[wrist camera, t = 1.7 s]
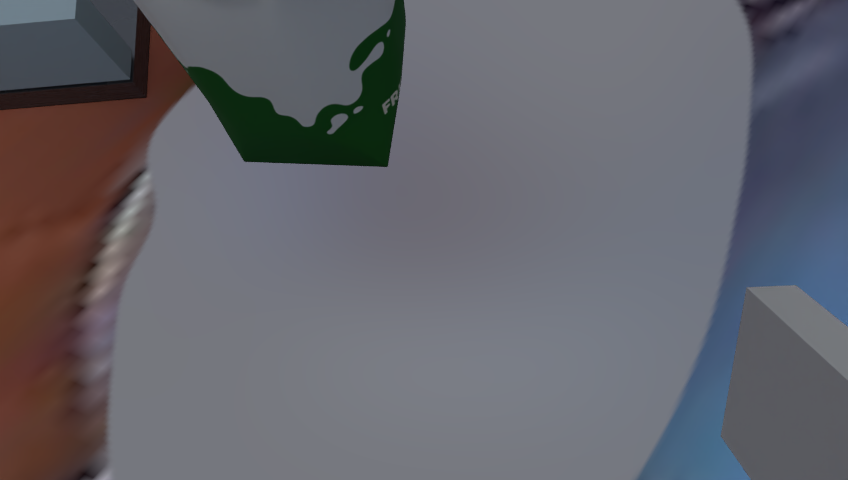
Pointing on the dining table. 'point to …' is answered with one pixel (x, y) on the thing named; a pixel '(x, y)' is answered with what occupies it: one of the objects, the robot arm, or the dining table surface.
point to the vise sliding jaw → (58, 45)
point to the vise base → (135, 32)
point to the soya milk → (293, 73)
